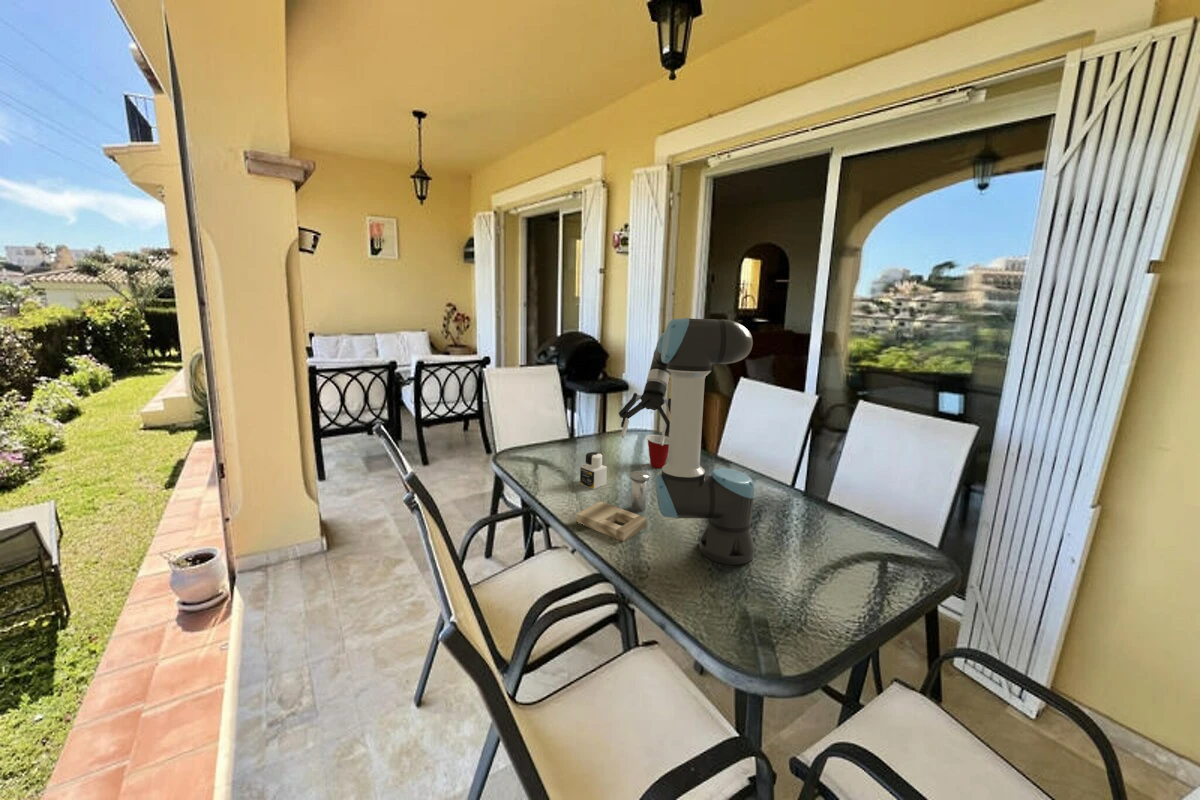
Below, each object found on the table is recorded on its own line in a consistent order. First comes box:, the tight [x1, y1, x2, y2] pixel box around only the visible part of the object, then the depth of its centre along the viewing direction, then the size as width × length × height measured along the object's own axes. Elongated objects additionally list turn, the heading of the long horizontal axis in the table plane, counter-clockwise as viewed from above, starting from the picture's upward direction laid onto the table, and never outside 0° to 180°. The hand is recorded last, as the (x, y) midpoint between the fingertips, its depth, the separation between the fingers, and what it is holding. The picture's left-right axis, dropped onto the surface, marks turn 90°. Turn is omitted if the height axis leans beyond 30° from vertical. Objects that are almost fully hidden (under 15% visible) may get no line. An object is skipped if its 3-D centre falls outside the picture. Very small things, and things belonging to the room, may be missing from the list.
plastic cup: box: [646, 434, 669, 469], centre depth 205 cm, size 11×11×12 cm
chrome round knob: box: [629, 470, 651, 513], centre depth 165 cm, size 6×6×12 cm
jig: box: [576, 501, 648, 543], centre depth 154 cm, size 18×12×3 cm, turn 52°
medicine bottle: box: [579, 451, 608, 490], centre depth 184 cm, size 7×7×12 cm
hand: (641, 440), depth 168 cm, fingers open, 13 cm apart
